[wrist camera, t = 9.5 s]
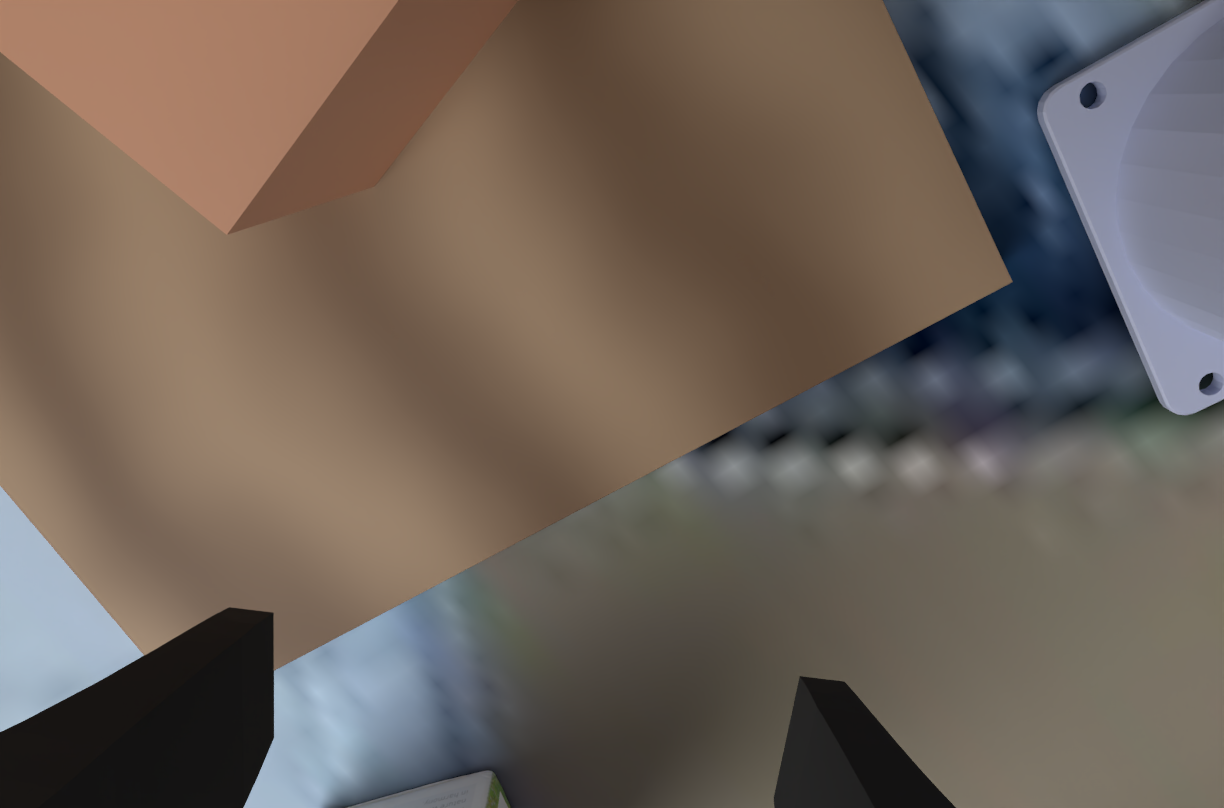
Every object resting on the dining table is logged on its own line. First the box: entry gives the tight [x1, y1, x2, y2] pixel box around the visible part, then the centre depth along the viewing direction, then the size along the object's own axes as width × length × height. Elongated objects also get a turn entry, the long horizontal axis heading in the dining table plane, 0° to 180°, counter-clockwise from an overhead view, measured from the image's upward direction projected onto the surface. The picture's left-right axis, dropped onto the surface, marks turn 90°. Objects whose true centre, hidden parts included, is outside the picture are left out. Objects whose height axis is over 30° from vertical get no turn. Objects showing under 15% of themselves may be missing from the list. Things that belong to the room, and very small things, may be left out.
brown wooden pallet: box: [0, 0, 1012, 670], centre depth 18 cm, size 22×18×3 cm
